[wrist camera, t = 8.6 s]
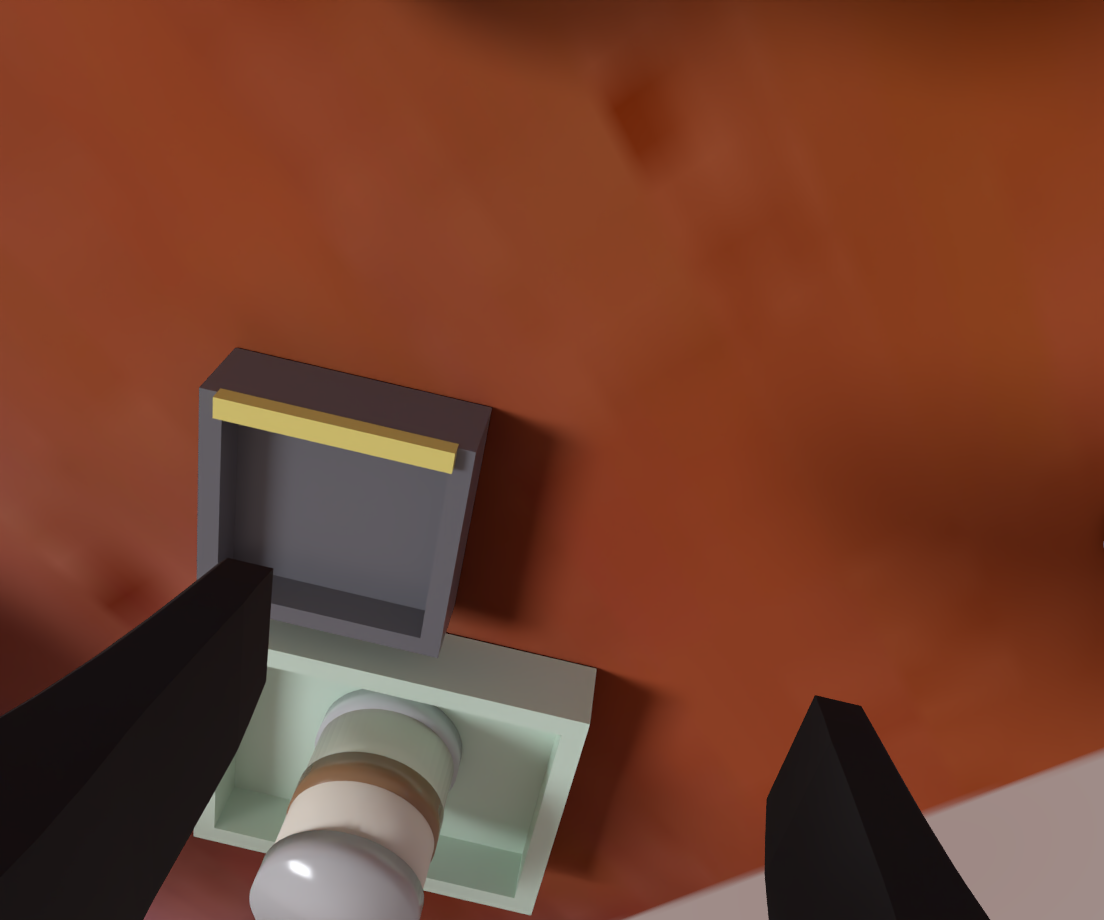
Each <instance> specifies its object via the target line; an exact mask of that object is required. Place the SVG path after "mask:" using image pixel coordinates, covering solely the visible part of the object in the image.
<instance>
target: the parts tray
mask: <svg viewBox="0 0 1104 920" xmlns="http://www.w3.org/2000/svg"><path fill="white" fill-rule="evenodd" d="M596 671H597V669H596V668H592V667H588V666H583V665H579V664H575V663H570V662H566V661H562V660H558V659H553V658H549V657H545V656H541V655H536V654H532V653H528V652H524V651H519V650H515V649H511V648H506V647H502V646H498V645H494V644H489V643H485V642H481V641H477V640H472V639H468V638H464V637H459V636H455V635H451V634H447V633H446V634H445V637H444V640H443V644H442V647H441V650H440V653H439V656H438V658H435V657H431V656H427V655H422V654H418V653H414V652H409V651H405V650H401V649H397V648H392V647H388V646H384V645H380V644H375V643H371V642H367V641H362V640H358V639H354V638H350V637H345V636H341V635H337V634H333V633H328V632H324V631H320V630H316V629H311V628H307V627H303V626H298V625H294V624H290V623H286V622H281V621H277V620H273V619H270V629H269V645H268V661H267V676H266V683H265V686H264V688H263V690H262V693H261V695H260V698H259V700H258V703H257V705H256V708H255V710H254V713H253V715H252V718H251V720H250V722H249V725H248V727H247V729H246V732H245V734H244V736H243V739H242V741H241V743H240V746H239V748H238V751H237V752H236V754H235V756H234V758H233V760H232V761H231V763H230V765H229V767H228V769H227V771H226V772H225V774H224V776H223V778H222V779H221V781H220V783H219V785H218V787H217V788H216V790H215V792H214V794H213V796H212V797H211V799H210V801H209V803H208V804H207V806H206V808H205V810H204V811H203V813H202V815H201V817H200V819H199V820H198V822H197V824H196V826H195V827H194V837H198V838H202V839H207V840H211V841H215V842H219V843H224V844H228V845H232V846H237V847H241V848H245V849H249V850H254V851H258V852H262V853H267V852H268V850H269V849H270V848H271V847H272V846H273V845H274V844H275V841H276V839H277V837H278V834H279V832H280V830H281V827H282V825H283V823H284V820H285V818H286V812H287V809H288V806H289V803H290V801H291V799H292V796H293V794H294V792H295V789H296V787H297V784H298V782H299V780H300V777H301V776H302V774H303V772H304V771H305V770H306V768H307V766H308V763H309V761H310V759H311V756H312V754H313V752H314V749H315V739H316V736H317V733H318V730H319V728H320V726H321V723H322V721H323V719H324V716H325V714H326V712H327V710H328V709H329V707H330V706H331V705H332V704H333V703H334V702H335V701H336V700H337V699H339V698H340V697H342V696H344V695H345V694H347V693H350V692H352V691H356V690H359V689H366V690H370V691H374V692H378V693H383V694H387V695H391V696H395V697H400V698H404V699H408V700H413V701H417V702H421V703H425V704H430V705H434V706H437V707H438V708H439V709H441V710H442V711H443V712H444V713H445V714H446V715H447V716H448V717H449V718H450V719H451V721H452V722H453V723H454V725H455V726H456V728H457V730H458V732H459V734H460V737H461V741H462V747H463V751H462V758H461V762H460V766H459V770H458V773H457V777H456V781H455V783H454V785H453V787H452V788H451V790H450V791H449V793H448V797H447V801H446V805H445V809H444V818H443V824H442V828H441V831H440V835H439V839H438V843H437V847H436V850H435V854H434V857H433V859H432V861H431V862H430V866H429V869H428V873H427V877H426V881H425V885H424V888H423V890H424V891H429V892H433V893H437V894H441V895H446V896H450V897H454V898H458V899H463V900H467V901H471V902H475V903H480V904H484V905H488V906H493V907H497V908H501V909H505V910H510V911H514V912H518V913H522V914H527V915H531V914H532V911H533V907H534V904H535V901H536V898H537V894H538V891H539V888H540V885H541V881H542V878H543V875H544V872H545V869H546V865H547V862H548V859H549V856H550V852H551V849H552V846H553V843H554V839H555V836H556V833H557V830H558V826H559V823H560V820H561V817H562V813H563V810H564V807H565V804H566V800H567V797H568V794H569V791H570V788H571V784H572V781H573V778H574V775H575V771H576V768H577V765H578V762H579V758H580V755H581V752H582V749H583V745H584V742H585V739H586V736H587V732H588V729H589V726H590V720H591V712H592V704H593V696H594V687H595V679H596Z"/></svg>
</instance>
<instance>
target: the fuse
mask: <svg viewBox="0 0 1104 920" xmlns="http://www.w3.org/2000/svg"><path fill="white" fill-rule="evenodd" d="M462 751H463V747H462V741H461V737H460V734H459V732H458V730H457V728H456V726H455V725H454V723H453V722H452V721H451V719H450V718H449V717H448V716H447V715H446V714H445V713H444V712H443V711H442V710H441V709H439V708H438V707H437V706H434V705H430V704H425V703H421V702H417V701H413V700H408V699H404V698H400V697H395V696H391V695H387V694H383V693H378V692H374V691H370V690H366V689H359V690H356V691H352V692H350V693H347V694H345V695H344V696H342V697H340V698H339V699H337V700H336V701H335V702H334V703H333V704H332V705H331V706H330V707H329V709H328V710H327V712H326V714H325V716H324V719H323V721H322V723H321V726H320V728H319V730H318V733H317V736H316V739H315V749H314V752H313V754H312V756H311V759H310V761H309V763H308V766H307V768H306V770H305V771H304V772H303V774H302V776H301V777H300V780H299V782H298V784H297V787H296V789H295V792H294V794H293V796H292V799H291V801H290V803H289V806H288V809H287V812H286V818H285V820H284V823H283V825H282V827H281V830H280V832H279V834H278V837H277V839H276V841H275V844H274V845H273V846H272V847H271V848H270V849H269V850H268V852H267V853H266V855H265V857H264V859H263V861H262V864H261V866H260V868H259V871H258V873H257V875H256V878H255V880H254V882H253V885H252V887H251V890H250V897H249V899H250V906H251V910H252V913H253V915H254V917H255V919H256V920H420V916H421V912H422V909H423V905H424V893H423V888H424V885H425V881H426V877H427V873H428V869H429V866H430V862H431V861H432V859H433V857H434V854H435V850H436V847H437V843H438V839H439V835H440V831H441V828H442V824H443V818H444V809H445V805H446V801H447V797H448V793H449V791H450V790H451V788H452V787H453V785H454V783H455V781H456V777H457V773H458V770H459V766H460V762H461V758H462Z"/></svg>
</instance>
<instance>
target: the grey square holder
mask: <svg viewBox="0 0 1104 920" xmlns="http://www.w3.org/2000/svg"><path fill="white" fill-rule="evenodd" d="M491 411H492V408H491V407H487V406H483V405H479V404H474V403H470V402H466V401H462V400H457V399H453V398H449V397H445V396H440V395H436V394H432V393H427V392H423V391H419V390H415V389H410V388H406V387H402V386H398V385H393V384H389V383H385V382H380V381H376V380H372V379H368V378H363V377H359V376H355V375H351V374H346V373H342V372H338V371H333V370H329V369H325V368H321V367H316V366H312V365H308V364H304V363H299V362H295V361H291V360H286V359H282V358H278V357H274V356H269V355H265V354H261V353H257V352H252V351H248V350H244V349H239V348H235V349H234V350H233V351H232V352H231V353H230V354H229V355H228V356H227V358H226V359H225V360H224V361H223V362H222V363H221V364H220V365H219V366H218V367H217V369H216V370H215V371H214V372H213V373H212V374H211V375H210V376H209V377H208V378H207V380H206V381H205V382H204V383H203V384H202V385H201V386H200V387H199V445H198V525H197V580H198V579H199V578H200V577H202V576H203V575H204V574H205V573H207V572H208V571H209V570H210V569H212V568H213V567H214V566H215V565H217V564H218V563H219V562H221V561H223V560H225V559H226V558H231V559H236V560H240V561H244V562H248V563H253V564H257V565H261V566H265V567H270V568H273V582H272V598H271V614H270V619H273V620H277V621H281V622H286V623H290V624H294V625H298V626H303V627H307V628H311V629H316V630H320V631H324V632H328V633H333V634H337V635H341V636H345V637H350V638H354V639H358V640H362V641H367V642H371V643H375V644H380V645H384V646H388V647H392V648H397V649H401V650H405V651H409V652H414V653H418V654H422V655H427V656H431V657H435V658H438V656H439V653H440V650H441V647H442V644H443V640H444V637H445V634H446V631H447V628H448V625H449V621H450V618H451V615H452V612H453V609H454V606H455V601H456V595H457V590H458V585H459V580H460V574H461V569H462V564H463V558H464V553H465V548H466V543H467V537H468V532H469V527H470V522H471V516H472V511H473V506H474V501H475V495H476V490H477V485H478V480H479V474H480V469H481V464H482V459H483V453H484V448H485V443H486V438H487V432H488V427H489V422H490V416H491Z"/></svg>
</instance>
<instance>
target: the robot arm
mask: <svg viewBox="0 0 1104 920" xmlns="http://www.w3.org/2000/svg"><path fill="white" fill-rule="evenodd" d="M1103 546H1104V543H1103ZM272 582H273V568H270V567H265V566H261V565H257V564H253V563H248V562H244V561H240V560H236V559H231V558H226V559H225V560H223V561H221V562H219V563H218V564H217V565H215V566H214V567H213V568H212V569H210V570H209V571H208V572H207V573H205V574H204V575H203V576H202V577H200V578H199V579H198V580H197V581H195V582H194V583H193V584H192V585H190V586H189V587H188V588H187V589H185V590H184V591H183V592H182V593H180V594H179V595H178V596H176V597H175V598H174V599H173V600H171V601H170V602H169V603H167V604H166V605H165V606H163V607H162V608H161V609H160V610H158V611H157V612H156V613H154V614H153V615H152V616H150V617H149V618H148V619H146V620H145V621H144V622H142V623H141V624H140V625H138V626H137V627H135V628H134V629H133V630H131V631H130V632H129V633H127V634H126V635H124V636H123V637H122V638H120V639H119V640H117V641H116V642H115V643H113V644H112V645H111V646H109V647H108V648H106V649H105V650H104V651H102V652H101V653H99V654H98V655H97V656H95V657H94V658H92V659H91V660H89V661H88V662H86V663H85V664H83V665H82V666H80V667H79V668H77V669H75V670H74V671H72V672H71V673H69V674H68V675H66V676H65V677H63V678H62V679H60V680H59V681H57V682H56V683H54V684H52V685H51V686H49V687H48V688H46V689H45V690H43V691H42V692H40V693H39V694H37V695H35V696H34V697H32V698H31V699H29V700H27V701H26V702H24V703H22V704H21V705H19V706H17V707H16V708H14V709H12V710H11V711H9V712H7V713H6V714H4V715H2V716H0V920H143V919H144V917H145V915H146V913H147V911H148V909H149V907H150V905H151V903H152V902H153V900H154V898H155V896H156V894H157V893H158V891H159V889H160V887H161V886H162V884H163V882H164V880H165V878H166V877H167V875H168V873H169V871H170V870H171V868H172V866H173V864H174V863H175V861H176V859H177V857H178V856H179V854H180V852H181V850H182V848H183V847H184V845H185V843H186V841H187V840H188V838H189V836H190V834H191V833H192V831H193V829H194V827H195V826H196V824H197V822H198V820H199V819H200V817H201V815H202V813H203V811H204V810H205V808H206V806H207V804H208V803H209V801H210V799H211V797H212V796H213V794H214V792H215V790H216V788H217V787H218V785H219V783H220V781H221V779H222V778H223V776H224V774H225V772H226V771H227V769H228V767H229V765H230V763H231V761H232V760H233V758H234V756H235V754H236V752H237V751H238V748H239V746H240V743H241V741H242V739H243V736H244V734H245V732H246V729H247V727H248V725H249V722H250V720H251V718H252V715H253V713H254V710H255V708H256V705H257V703H258V700H259V698H260V695H261V693H262V690H263V688H264V686H265V683H266V676H267V661H268V645H269V629H270V614H271V598H272ZM765 883H766V895H767V906H768V916H769V920H990V919H989V918H988V916H987V914H986V913H985V911H984V910H983V909H982V907H981V906H980V904H979V903H978V901H977V900H976V898H975V897H974V895H973V894H972V892H971V891H970V889H969V888H968V887H967V885H966V884H965V882H964V881H963V879H962V878H961V876H960V874H959V873H958V871H957V870H956V868H955V867H954V865H953V864H952V862H951V860H950V859H949V857H948V855H947V854H946V852H945V850H944V849H943V847H942V846H941V844H940V842H939V841H938V839H937V837H936V836H935V834H934V833H933V831H932V829H931V828H930V826H929V824H928V823H927V821H926V819H925V818H924V816H923V814H922V813H921V811H920V809H919V807H918V806H917V804H916V802H915V801H914V799H913V797H912V795H911V794H910V792H909V790H908V788H907V787H906V785H905V783H904V781H903V779H902V778H901V776H900V774H899V772H898V771H897V769H896V767H895V765H894V764H893V762H892V760H891V758H890V756H889V755H888V753H887V751H886V749H885V747H884V746H883V744H882V742H881V740H880V738H879V737H878V735H877V733H876V731H875V730H874V728H873V726H872V724H871V722H870V721H869V719H868V717H867V716H866V714H865V712H864V710H863V709H862V707H861V706H859V705H854V704H850V703H846V702H842V701H837V700H833V699H829V698H825V697H820V696H816V695H815V696H814V699H813V701H812V703H811V705H810V707H809V709H808V711H807V714H806V716H805V718H804V720H803V722H802V724H801V726H800V729H799V731H798V733H797V735H796V737H795V739H794V741H793V744H792V746H791V748H790V750H789V752H788V754H787V756H786V759H785V761H784V763H783V765H782V767H781V769H780V771H779V774H778V776H777V778H776V780H775V782H774V784H773V786H772V789H771V791H770V793H769V795H768V797H767V805H766V832H765Z"/></svg>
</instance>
